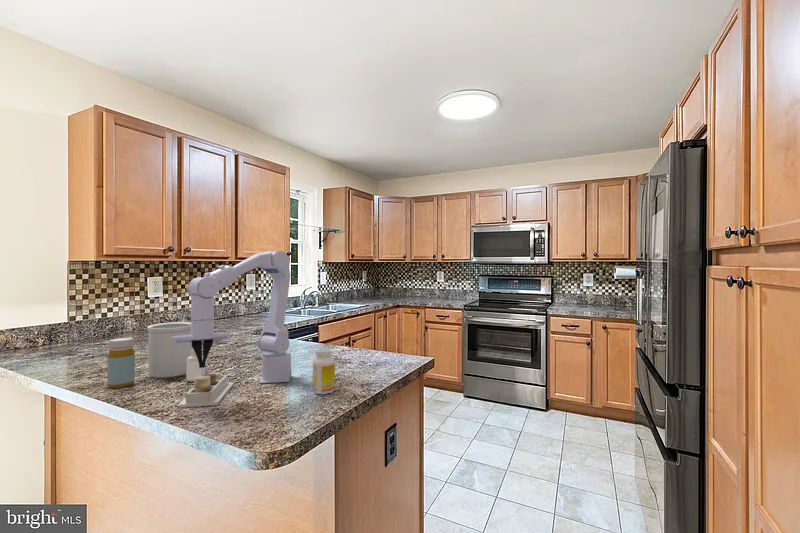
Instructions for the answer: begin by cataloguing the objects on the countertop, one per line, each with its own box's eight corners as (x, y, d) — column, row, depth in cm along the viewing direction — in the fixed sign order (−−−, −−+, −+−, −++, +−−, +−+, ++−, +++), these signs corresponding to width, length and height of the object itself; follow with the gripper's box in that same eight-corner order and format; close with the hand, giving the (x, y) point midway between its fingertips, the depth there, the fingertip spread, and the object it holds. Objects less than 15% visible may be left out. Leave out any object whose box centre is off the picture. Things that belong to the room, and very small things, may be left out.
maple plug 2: (222, 384, 116) (222, 371, 116) (219, 388, 112) (219, 375, 112) (209, 385, 115) (209, 372, 115) (205, 389, 112) (205, 376, 112)
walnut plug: (217, 386, 111) (217, 373, 111) (213, 390, 107) (213, 377, 107) (203, 387, 110) (203, 374, 110) (198, 391, 106) (198, 377, 106)
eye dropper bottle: (194, 383, 120) (194, 347, 120) (184, 380, 123) (184, 345, 123) (207, 379, 124) (207, 344, 124) (196, 377, 127) (196, 343, 127)
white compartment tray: (233, 384, 118) (233, 374, 118) (217, 404, 101) (217, 392, 101) (200, 386, 116) (200, 375, 116) (178, 407, 99) (178, 394, 99)
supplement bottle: (338, 389, 113) (338, 348, 114) (327, 396, 107) (327, 353, 107) (320, 387, 116) (320, 347, 116) (308, 394, 109) (308, 351, 109)
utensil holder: (202, 370, 135) (203, 323, 135) (159, 381, 122) (159, 329, 123) (182, 365, 143) (182, 320, 143) (139, 374, 130) (139, 325, 131)
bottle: (139, 383, 120) (139, 338, 120) (115, 390, 113) (115, 342, 113) (126, 380, 123) (127, 336, 123) (102, 386, 116) (103, 340, 116)
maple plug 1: (212, 389, 105) (212, 375, 106) (207, 393, 102) (207, 379, 102) (197, 389, 105) (197, 376, 105) (192, 394, 101) (192, 380, 101)
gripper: (230, 316, 110) (229, 360, 110) (174, 319, 104) (173, 366, 104) (230, 318, 104) (230, 366, 104) (171, 322, 97) (171, 372, 97)
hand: (202, 366), depth 103 cm, fingers closed
